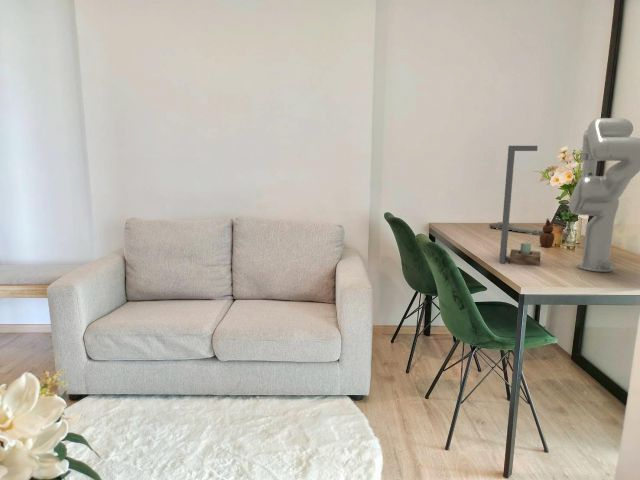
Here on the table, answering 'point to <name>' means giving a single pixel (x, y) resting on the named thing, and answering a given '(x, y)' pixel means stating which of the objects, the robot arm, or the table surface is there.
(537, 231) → the elongated rock
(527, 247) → the peg
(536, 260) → the socket block
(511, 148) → the gallows post stand
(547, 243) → the wooden figurine
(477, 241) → the table surface
